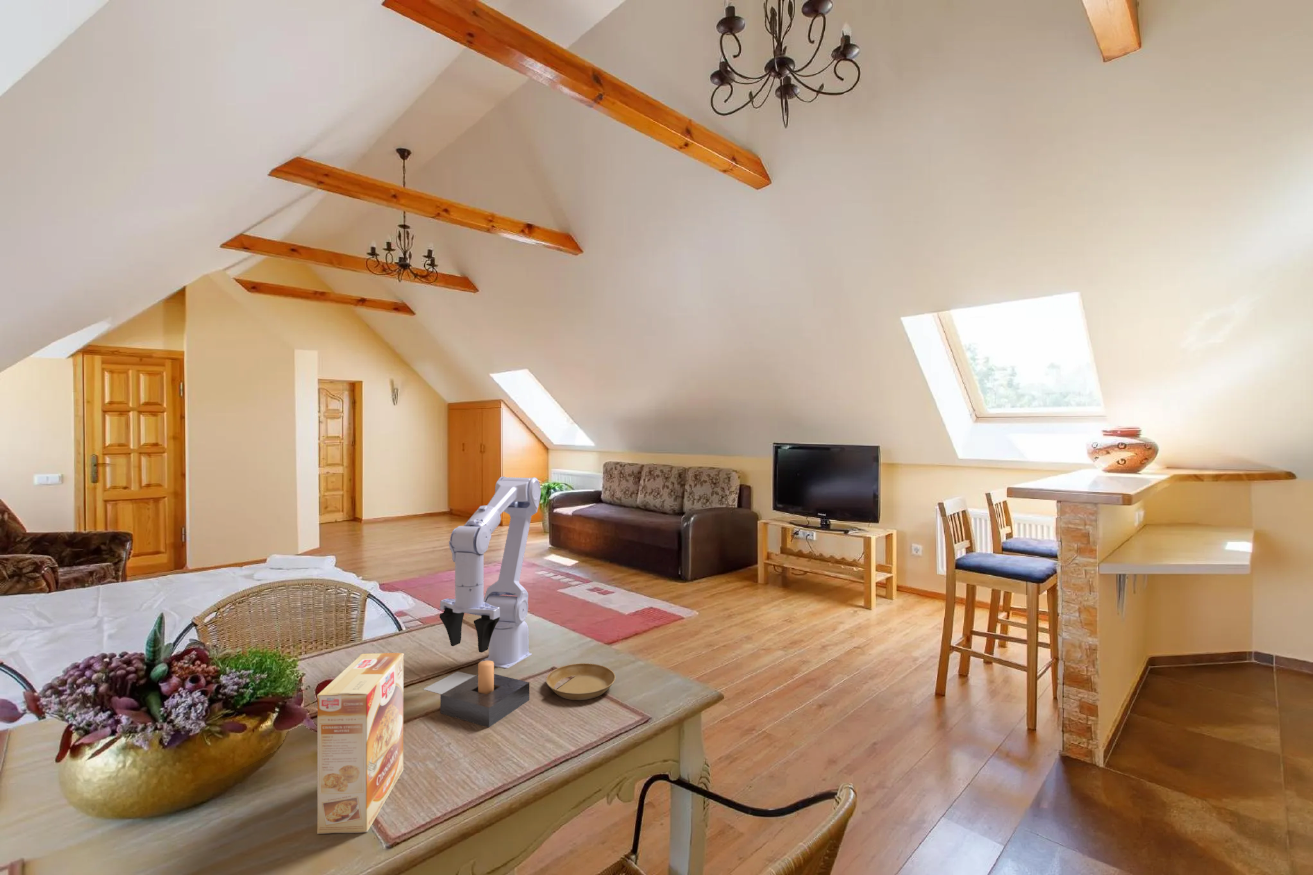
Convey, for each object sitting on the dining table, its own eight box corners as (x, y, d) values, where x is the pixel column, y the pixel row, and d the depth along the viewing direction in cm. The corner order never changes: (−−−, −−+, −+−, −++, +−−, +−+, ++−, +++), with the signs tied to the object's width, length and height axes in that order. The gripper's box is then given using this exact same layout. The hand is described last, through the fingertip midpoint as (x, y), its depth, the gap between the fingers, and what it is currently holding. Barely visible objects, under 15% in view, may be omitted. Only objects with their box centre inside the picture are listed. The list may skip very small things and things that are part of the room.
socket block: (483, 689, 125) (483, 671, 125) (529, 701, 120) (529, 682, 120) (440, 715, 114) (440, 694, 114) (489, 729, 109) (489, 707, 109)
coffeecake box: (368, 833, 81) (367, 693, 81) (314, 835, 81) (313, 695, 80) (405, 769, 96) (405, 651, 96) (360, 771, 96) (360, 652, 95)
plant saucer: (627, 682, 130) (627, 670, 130) (592, 711, 116) (592, 698, 116) (570, 669, 136) (571, 658, 136) (531, 696, 123) (531, 684, 123)
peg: (484, 703, 119) (484, 659, 119) (496, 706, 118) (497, 661, 117) (474, 710, 116) (474, 665, 116) (487, 713, 115) (487, 667, 115)
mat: (457, 672, 133) (457, 671, 133) (492, 681, 129) (492, 679, 129) (423, 690, 124) (423, 689, 124) (459, 700, 120) (459, 698, 120)
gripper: (429, 583, 123) (429, 648, 123) (483, 592, 117) (483, 660, 117) (454, 575, 129) (454, 637, 130) (506, 584, 123) (506, 648, 123)
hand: (469, 647), depth 124 cm, fingers open, 7 cm apart
